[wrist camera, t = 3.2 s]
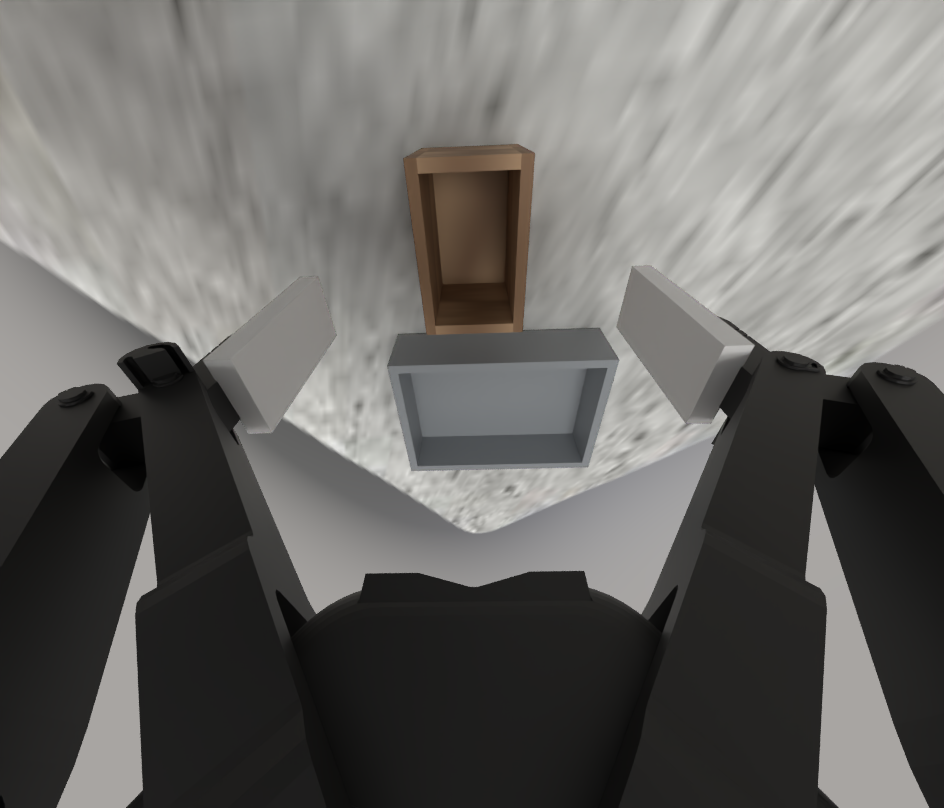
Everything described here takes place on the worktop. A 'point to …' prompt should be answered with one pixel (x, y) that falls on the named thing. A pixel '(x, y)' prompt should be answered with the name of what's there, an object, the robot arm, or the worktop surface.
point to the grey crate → (501, 397)
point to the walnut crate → (471, 235)
